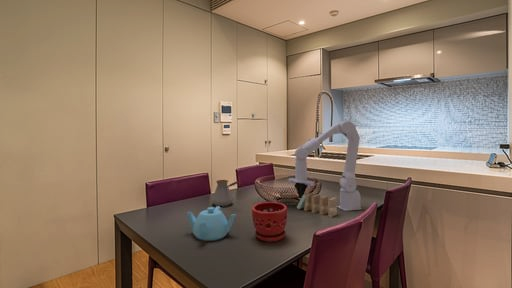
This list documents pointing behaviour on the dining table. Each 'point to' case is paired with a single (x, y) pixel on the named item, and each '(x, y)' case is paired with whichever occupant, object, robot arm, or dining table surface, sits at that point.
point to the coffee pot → (223, 193)
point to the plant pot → (269, 221)
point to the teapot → (210, 224)
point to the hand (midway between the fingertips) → (301, 197)
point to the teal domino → (302, 202)
